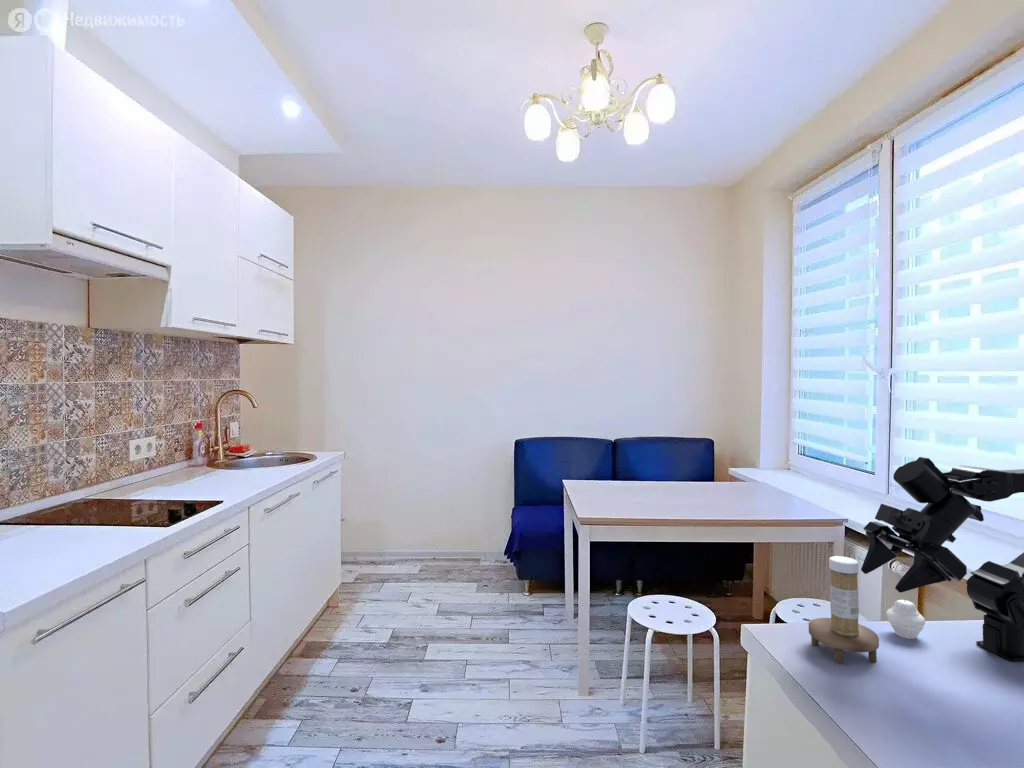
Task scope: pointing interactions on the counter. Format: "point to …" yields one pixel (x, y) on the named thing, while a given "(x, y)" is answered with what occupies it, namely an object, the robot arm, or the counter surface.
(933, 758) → the counter surface
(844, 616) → the sprinkles bottle
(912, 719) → the counter surface
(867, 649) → the walnut footstool
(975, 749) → the counter surface
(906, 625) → the muffin
